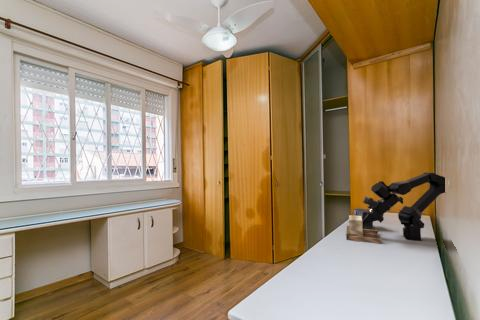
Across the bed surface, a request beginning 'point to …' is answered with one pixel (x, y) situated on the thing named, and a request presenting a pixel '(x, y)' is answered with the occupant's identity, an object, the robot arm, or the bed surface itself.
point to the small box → (363, 214)
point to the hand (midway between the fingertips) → (362, 223)
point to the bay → (365, 236)
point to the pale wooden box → (355, 226)
